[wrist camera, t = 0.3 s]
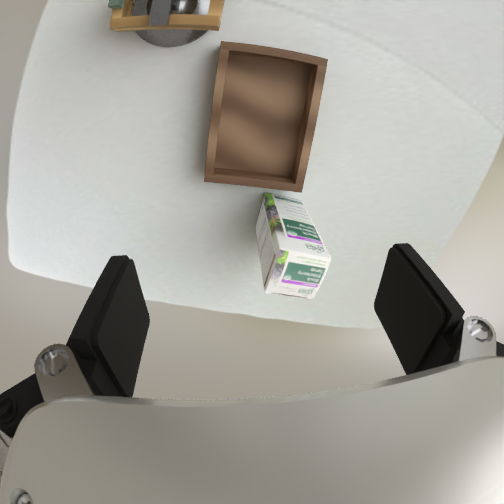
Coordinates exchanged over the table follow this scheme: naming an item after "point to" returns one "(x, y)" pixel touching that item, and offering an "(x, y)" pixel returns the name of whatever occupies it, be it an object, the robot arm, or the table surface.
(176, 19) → the light wooden frame
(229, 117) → the tray
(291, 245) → the syrup box
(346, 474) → the robot arm
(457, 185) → the table surface
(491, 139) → the table surface
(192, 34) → the door handle
